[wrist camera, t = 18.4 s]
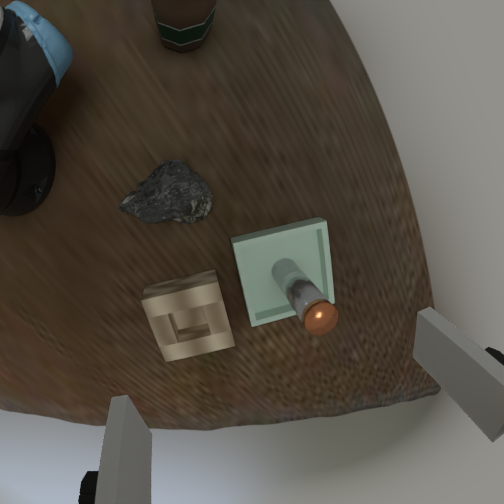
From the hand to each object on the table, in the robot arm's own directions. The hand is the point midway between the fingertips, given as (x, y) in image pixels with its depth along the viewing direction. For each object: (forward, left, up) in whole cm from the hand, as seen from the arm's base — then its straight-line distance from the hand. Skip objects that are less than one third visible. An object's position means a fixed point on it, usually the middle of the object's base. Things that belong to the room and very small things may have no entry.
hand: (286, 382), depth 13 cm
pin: (+9, -13, -38) cm, 41 cm away
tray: (+9, -13, -39) cm, 42 cm away
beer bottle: (+1, +28, -39) cm, 48 cm away
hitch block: (-8, -16, -39) cm, 43 cm away
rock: (-6, +3, -39) cm, 40 cm away
